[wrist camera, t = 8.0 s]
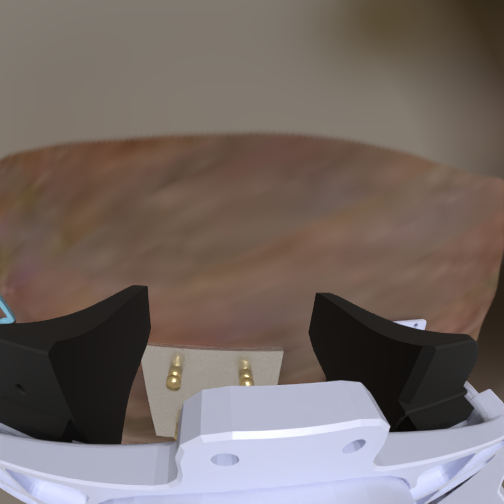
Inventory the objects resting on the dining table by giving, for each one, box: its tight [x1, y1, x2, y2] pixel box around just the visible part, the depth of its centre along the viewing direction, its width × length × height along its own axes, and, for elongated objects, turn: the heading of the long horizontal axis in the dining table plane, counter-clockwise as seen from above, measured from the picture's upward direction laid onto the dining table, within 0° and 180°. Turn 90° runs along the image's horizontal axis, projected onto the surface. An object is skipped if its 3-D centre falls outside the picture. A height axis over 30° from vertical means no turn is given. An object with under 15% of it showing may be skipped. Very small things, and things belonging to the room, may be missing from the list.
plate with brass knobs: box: [141, 342, 284, 441], centre depth 24 cm, size 12×13×3 cm
